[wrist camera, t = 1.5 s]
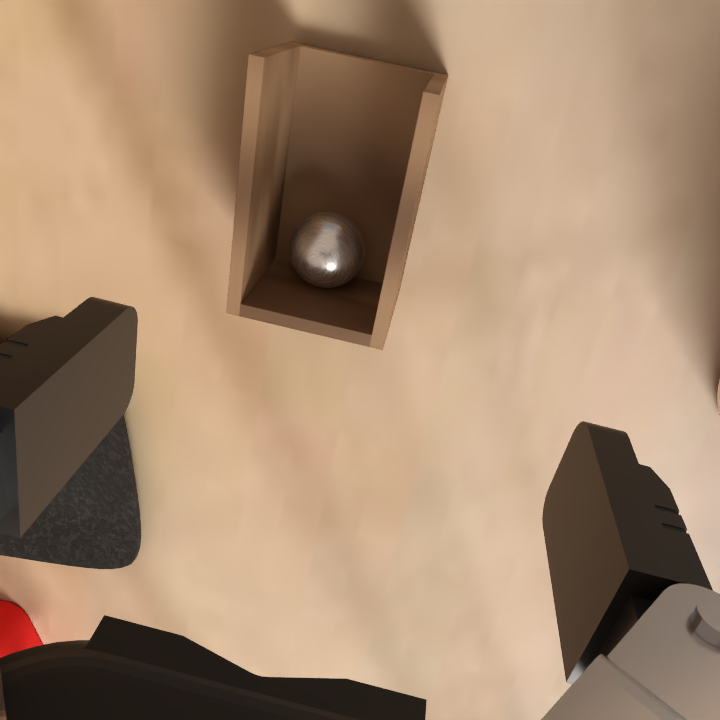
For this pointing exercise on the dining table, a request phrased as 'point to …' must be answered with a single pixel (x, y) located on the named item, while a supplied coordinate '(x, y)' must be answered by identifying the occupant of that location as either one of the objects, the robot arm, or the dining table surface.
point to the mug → (15, 630)
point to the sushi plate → (88, 513)
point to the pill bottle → (718, 396)
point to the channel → (329, 183)
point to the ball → (327, 249)
